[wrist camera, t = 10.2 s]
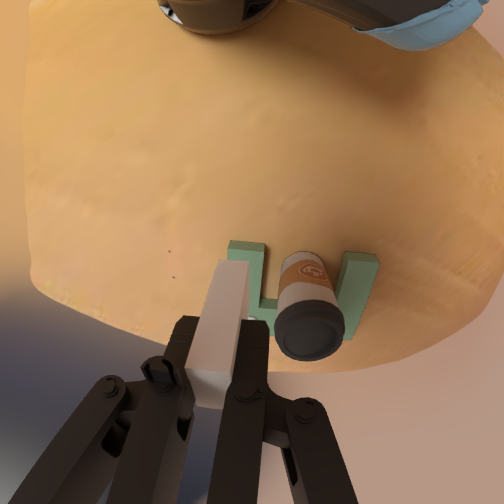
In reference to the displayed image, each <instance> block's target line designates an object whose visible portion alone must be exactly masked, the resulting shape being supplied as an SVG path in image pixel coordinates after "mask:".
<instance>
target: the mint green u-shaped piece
mask: <svg viewBox="0 0 504 504" xmlns="http://www.w3.org/2000/svg"><path fill="white" fill-rule="evenodd" d="M264 248H265V244H264V243H253V242H242V241H232V240H230V243H229V246H228V260H236V261H249V288H250V305H249V312H248V320H265V321H266V323H267V325H268V327H269V329H270V336H275V333H274V323H275V320H276V317H277V308H278V304H277V301H278V300H276V299H265V298H260V288H261V279H262V269H263V259H264ZM379 265H380V262H379V261H378V259H377V257H376V255H374V254H365V253H355V252H345V254H344V258H343V262H342V266H341V270H340V273H339V277H338V281H337V284H336V288H335V292H334V294H335V298H336V301H337V304H338V307H339V309H340V311H341V312H342V313H343V316H344V319H345V322H344V324H345V334H344V336H343V340H352V338H353V336H354V333H355V331H356V328H357V326H358V323H359V321H360V318H361V316H362V313H363V310H364V308H365V305H366V302H367V300H368V297H369V294H370V291H371V288H372V286H373V283H374V280H375V277H376V274H377V271H378V268H379Z"/></svg>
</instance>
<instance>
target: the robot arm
mask: <svg viewBox="0 0 504 504" xmlns="http://www.w3.org/2000/svg"><path fill="white" fill-rule="evenodd" d="M157 1H158V4H159V6H160V8H161V10H162V11H163V13H164V14H165V15H166V16H167V17H168V18H169V19H170V20H172V21H173V22H175V23H176V24H177V25H179V26H181V27H182V28H184V29H187V30H189V31H192V32H196V33H201V34H225V33H230V32H235V31H238V30H241V29H244V28H247V27H249V26H251V25H253V24H255V23H257V22H258V21H260V20H261V19H263V18H264V17H265V16H266V15H268V14H269V13H270V12H271V11H272V9H273V8H274V7H275V6H276V4H277V2H278V1H279V0H157ZM286 1H289V2H292V3H295V4H298V5H301V6H304V7H307V8H309V9H312V10H315V11H317V12H320V13H322V14H325V15H327V16H329V17H332V18H334V19H336V20H339V21H341V22H343V23H345V24H347V25H349V26H350V28H351V29H353V30H355V31H357V32H359V33H362V34H368V35H370V36H372V37H374V38H376V39H378V40H380V41H382V42H384V43H386V44H388V45H390V46H392V47H394V48H396V49H400V50H408V51H414V52H415V51H424V50H429V49H433V48H436V47H438V46H441V45H443V44H445V43H447V42H449V41H450V40H452V39H454V38H455V37H457V36H459V35H460V34H461V33H463V32H464V31H465V30H467V29H468V28H469V27H470V26H471V25H472V24H473V23H474V22H475V21H476V20H477V19H478V18H479V16H480V15H481V14H482V12H483V9H482V7H481V6H482V5H484V4H486V3H488V2H489V0H286ZM249 305H250V288H249V261H236V260H219V261H218V264H217V267H216V270H215V273H214V276H213V279H212V282H211V285H210V288H209V291H208V294H207V297H206V300H205V303H204V307H203V310H202V313H201V316H200V317H196V316H185V315H184V316H183V317H182V318H181V319H180V320H179V321H178V322H177V323H176V324H175V327H174V329H173V332H172V335H171V337H170V341H169V342H168V345H167V348H166V350H165V353H164V356H154V357H152V358H149V359H148V360H146V361H145V362H144V363H143V364H142V366H141V367H140V368H141V370H142V372H143V374H144V376H145V378H146V380H142V381H135V382H124V381H123V380H122V379H121V378H120V377H118V376H115V375H107V376H105V377H103V378H101V379H100V380H99V381H97V383H96V384H95V385H94V386H93V388H92V389H91V390H90V391H89V393H88V394H87V395H86V397H85V398H84V399H83V400H82V402H81V403H80V404H79V406H78V407H77V408H76V410H75V411H74V412H73V413H72V415H71V416H70V417H69V419H68V420H67V422H65V424H64V425H63V426H62V428H61V429H60V430H59V432H58V433H57V435H56V436H55V437H54V439H53V440H52V441H51V443H50V444H49V445H48V447H47V448H46V450H45V451H44V452H43V454H42V455H41V456H40V458H39V459H38V461H37V462H36V463H35V465H34V466H33V467H32V469H31V470H30V472H29V473H28V475H27V476H26V477H25V479H24V480H23V482H22V483H21V485H20V486H19V488H18V489H17V491H16V492H15V494H14V495H13V497H12V498H11V500H10V501H9V503H8V504H96V503H97V502H98V500H99V499H100V497H101V495H102V494H103V492H104V491H105V489H106V488H107V486H108V484H109V483H110V481H111V480H112V478H113V477H114V479H113V481H112V485H111V488H110V491H109V495H108V498H107V502H106V504H176V500H177V495H178V490H179V486H180V481H181V476H182V472H183V467H184V462H185V458H186V453H187V449H188V444H189V440H190V435H191V431H192V427H193V422H194V412H193V407H194V403H195V402H196V405H197V406H199V407H207V408H215V409H223V412H222V418H221V423H220V429H219V435H218V440H217V446H216V453H215V458H214V463H213V469H212V475H211V481H210V486H209V492H208V498H207V504H257V496H258V486H259V476H260V465H261V453H262V442H263V441H264V442H266V443H269V444H272V445H275V446H278V447H280V448H281V453H282V456H283V461H284V465H285V469H286V473H287V477H288V481H289V485H290V489H291V493H292V497H293V500H294V504H358V501H357V498H356V495H355V492H354V489H353V486H352V484H351V480H350V478H349V475H348V472H347V469H346V466H345V463H344V460H343V458H342V454H341V452H340V449H339V446H338V443H337V440H336V438H335V435H334V432H333V429H332V426H331V424H330V421H329V418H328V415H327V412H326V410H325V408H324V407H323V405H322V404H321V403H320V402H319V401H317V400H316V399H312V398H309V397H307V398H299V399H296V400H294V401H292V400H289V399H286V398H283V397H281V396H278V395H276V394H275V393H274V392H273V391H272V390H271V389H270V388H269V385H268V383H267V372H268V355H269V337H270V329H269V327H268V325H267V323H266V321H265V320H248V312H249Z"/></svg>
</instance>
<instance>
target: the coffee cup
mask: <svg viewBox="0 0 504 504" xmlns="http://www.w3.org/2000/svg"><path fill="white" fill-rule="evenodd" d="M277 304H278V308H277V317H276V320H275V323H274V333H275V340H276V342H277V344H278V345H279V348H280V349H281V351H282V352H283V353H284V354H285V355H286V356H288V357H290V358H292V359H294V360H298V361H316V360H320V359H323V358H326V357H328V356H330V355H331V354H333V353H334V352H335V351H336V350H337V349H338V348H339V347H340V346H341V343H342V341H343V336H344V334H345V324H344V322H345V319H344V316H343V313H342V312H341V311H340V309H339V307H338V304H337V301H336V298H335V294H334V291H333V288H332V286H331V283H330V280H329V278H328V275H327V272H326V271H325V269H324V266H323V263H322V261H321V260H320V258H319V257H317V256H316V255H315V254H312V253H310V252H304V251H303V252H297V253H294V254H292V255H291V256H289V257H288V258H287V259H286V260H285V261H284V263H283V265H282V269H281V277H280V282H279V292H278V301H277Z"/></svg>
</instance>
